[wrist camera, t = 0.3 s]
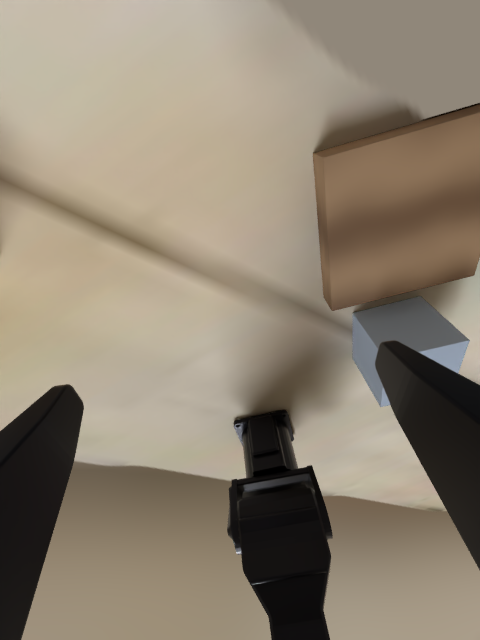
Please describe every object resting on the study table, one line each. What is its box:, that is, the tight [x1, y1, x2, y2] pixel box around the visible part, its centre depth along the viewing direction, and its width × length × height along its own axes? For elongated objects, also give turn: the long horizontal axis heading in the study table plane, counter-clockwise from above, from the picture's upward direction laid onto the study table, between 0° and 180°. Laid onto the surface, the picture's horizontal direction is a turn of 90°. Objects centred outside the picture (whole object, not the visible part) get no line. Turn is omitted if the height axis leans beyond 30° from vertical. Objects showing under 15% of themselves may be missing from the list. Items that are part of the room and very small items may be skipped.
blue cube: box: [353, 296, 470, 407], centre depth 25 cm, size 6×6×6 cm
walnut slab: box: [313, 103, 480, 311], centre depth 20 cm, size 11×11×2 cm
